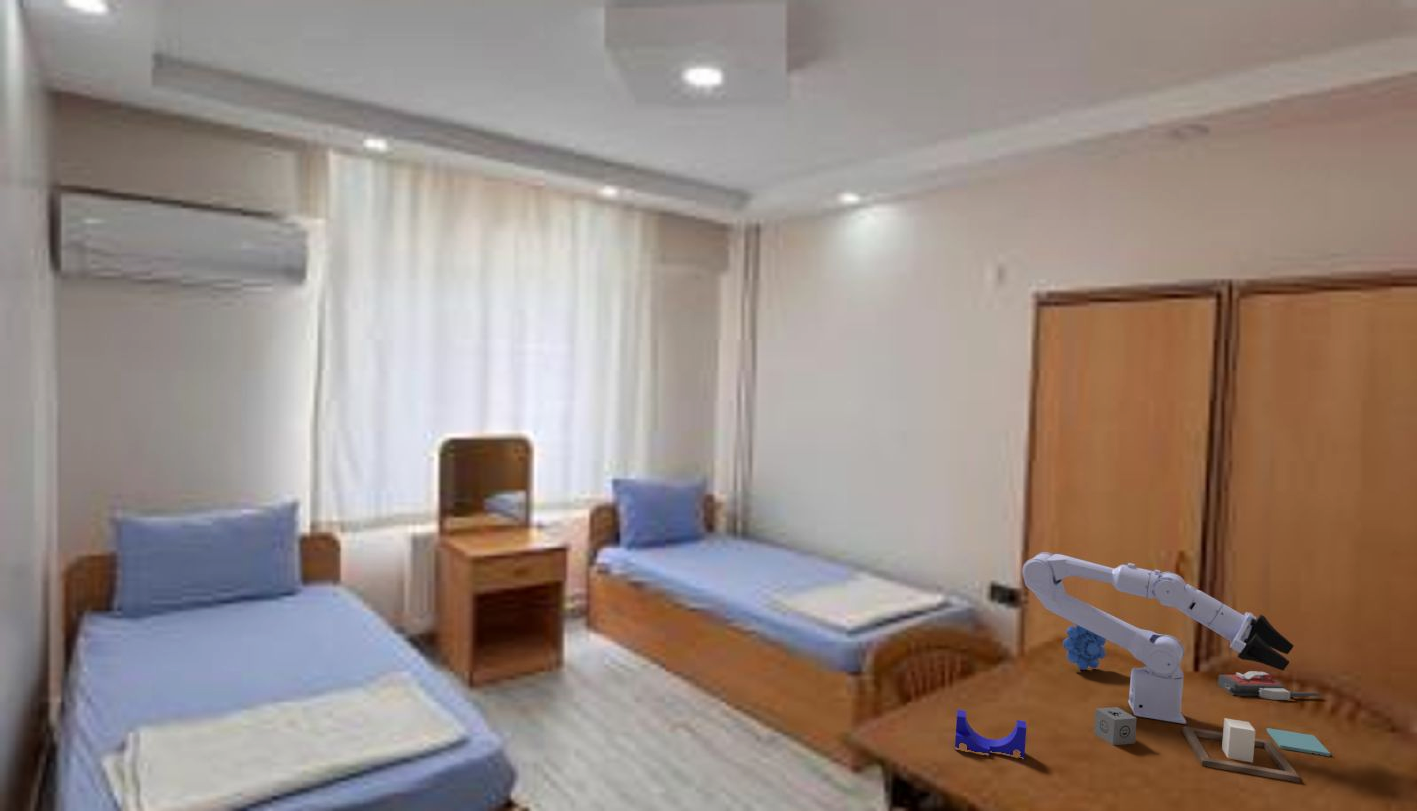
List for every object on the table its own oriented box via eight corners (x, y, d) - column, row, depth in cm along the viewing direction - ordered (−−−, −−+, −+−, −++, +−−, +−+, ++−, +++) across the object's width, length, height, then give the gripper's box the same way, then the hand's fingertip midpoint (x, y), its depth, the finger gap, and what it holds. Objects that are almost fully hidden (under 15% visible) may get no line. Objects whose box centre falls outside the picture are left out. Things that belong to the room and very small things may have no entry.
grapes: (1074, 678, 186) (1078, 627, 186) (1055, 667, 193) (1058, 617, 192) (1116, 675, 189) (1120, 625, 189) (1096, 664, 196) (1099, 616, 195)
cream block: (1227, 758, 150) (1230, 726, 149) (1221, 748, 154) (1224, 718, 153) (1252, 762, 148) (1255, 730, 148) (1246, 752, 152) (1248, 721, 152)
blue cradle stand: (954, 751, 148) (956, 719, 148) (955, 740, 152) (957, 709, 152) (1024, 764, 144) (1026, 731, 144) (1023, 753, 148) (1025, 721, 148)
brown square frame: (1201, 765, 146) (1202, 760, 146) (1182, 730, 160) (1182, 726, 160) (1299, 782, 142) (1299, 777, 141) (1270, 745, 156) (1270, 740, 156)
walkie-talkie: (1238, 701, 178) (1323, 702, 180) (1239, 681, 178) (1324, 683, 179) (1210, 685, 187) (1291, 686, 188) (1212, 666, 186) (1293, 667, 188)
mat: (1280, 748, 155) (1280, 745, 155) (1266, 730, 162) (1266, 727, 162) (1330, 756, 152) (1330, 753, 152) (1313, 738, 160) (1313, 735, 160)
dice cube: (1094, 733, 158) (1095, 708, 158) (1115, 731, 159) (1117, 706, 159) (1112, 745, 153) (1114, 719, 153) (1134, 743, 154) (1136, 718, 154)
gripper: (1219, 613, 155) (1296, 658, 148) (1231, 587, 166) (1304, 628, 159) (1200, 640, 158) (1275, 685, 151) (1213, 613, 169) (1283, 654, 162)
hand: (1288, 657), depth 155 cm, fingers open, 7 cm apart
